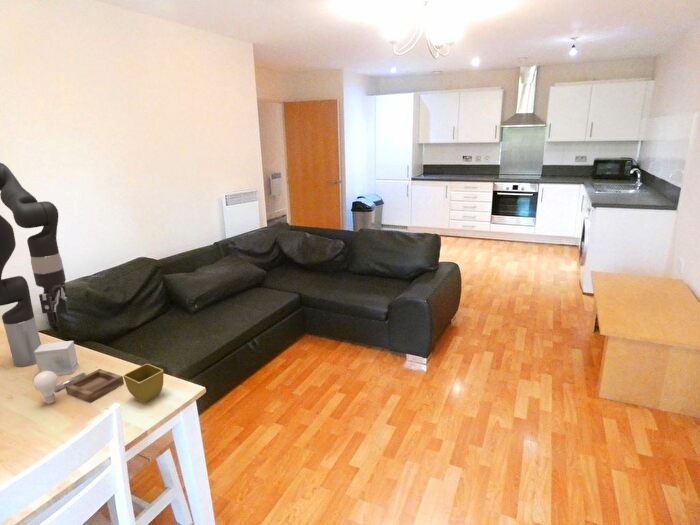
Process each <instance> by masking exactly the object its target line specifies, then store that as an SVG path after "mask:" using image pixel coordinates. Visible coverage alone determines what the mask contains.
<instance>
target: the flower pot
mask: <svg viewBox="0 0 700 525" xmlns="http://www.w3.org/2000/svg"><path fill="white" fill-rule="evenodd" d="M123 381H124V384H125V385H126V388H127V391H128V392H129V393H130V394H131V396H132V397H133V398H135V399H137V400H138V401H140V402H142V403H147V402H149V401H150V400H152V399H154V398H156V397H158V396H159V395H160V393H161V392H162V389H163V388H164V387H163V386H164V369H163V368H160V367H157V366H155V365H152V364H150V363H145V364H143V365H140V366H139V367H136V368H135V369H133V370H131V371H129V372H127V373H125V374H123Z"/></svg>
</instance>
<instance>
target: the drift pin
mask: <svg viewBox="0 0 700 525" xmlns="http://www.w3.org/2000/svg"><path fill="white" fill-rule="evenodd" d="M86 375H87V373H86V372H81V373H79V374H78V375H77V374H76V375H75V376H73V377H71V378H69V379H67V380H65V381H63V382H61V383H58V384H57V385H56V387H55V392H54V393H57V392H58V391H61V390H62V389H66V388H65V386H67V385H68V384H70V383H72V382H74V381H76V380H78V379H80V378H82V377H84V376H86Z"/></svg>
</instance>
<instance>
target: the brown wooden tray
mask: <svg viewBox="0 0 700 525" xmlns="http://www.w3.org/2000/svg"><path fill="white" fill-rule="evenodd" d="M123 385H125V380H124V377H123V376H122V375H121V374H116V373H113V372H110V371H108V370H104V369H101V368H98V369H96V370H95V371H93V372H91V373H88V374H86V376H84V377H82V378H80V379H78V380H76V381H74V382H72V383H70V384H68V385H67V386H65V388H64V389H65V391H66V392H65V393H66V395H68V396H70V397H73V398H75V399H78V400H81V401H83V402H86V403H89V404H91V403H93V402H94V401H97V400H99V399H100V398H102V397H104V396H105V395H107V394H109V393H111V392H112V391H115V390H116V389H118V388H119V386H120V387H121V386H123ZM117 387H118V388H117Z"/></svg>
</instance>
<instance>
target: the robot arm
mask: <svg viewBox="0 0 700 525" xmlns="http://www.w3.org/2000/svg"><path fill="white" fill-rule="evenodd" d="M0 200H1V201H2V203H3V205H5V207H7V208H8V209H9V210H10V211H11V213H12V216H13V220H14V222H15V224H16V225H17V226H18V227H20V228H23V229H32V228H34V229H35V228H40V227H42V229H41V231H40V232H38V233H36V234H32V235H30V236H29V237H28V238H27V239H26V241H27V248H28V251H29V256H30V265H31V269H32V273H33V278H34V282H35V286H37V287H38V288H40V287H41V288H42V289H43V293H39V295H38V297H39V302H40V307H41V313H42V314H47V320H48V324H50V325H57V324H58V323H59V317H58V313H60V314H64V313H67V312H68V306H67V298H68V296H69V294H68V289H67V287H66V286H67V285H66V281H67V280H66V275H65V270H64V265H63V260H62V257H61V255H60V251H59V247H58V241H57V240H58V239H57V236H58V235H57V234H58V224H59V210H58V208H57V206H56V205H55V204H54V203H52V202H51V201H46V200H45V201H38V199H37V198H36V197H35V196H34V195H33V194H32V193H30V192H29V191H28V190H26V189H25V188H24V187H23V186H22V184H21V183H20V182H19V180H18V179H17V177H16V176H15V175H14V173H13V172H12V171H11V170H10V168H9V167H8V166H7V165H6V164H4V163H2V162H0ZM16 244H17V243H16V238H15V232H14V228H13V226H12V225H11V223H10V222H9V221H8V220H7V219H6V218H4V216H2V215H1V214H0V307H1V306H6V305H10V304H11V305H12V304H15V303H16V304H15V306H13V307H12V308H11V309H9V310H7V311H6V312H4V313H3V314H2V316H1V320H2V324H3V327H4V331H5V335H6V337H7V342H8V345H9V346H8V347H9V349H10V354H11V357H12V361H13V364H14V366H15V367H18V368H19V367H21V368H22V367H27V366H32V365H35V364H37V361H36V358H35V354H34V351H35V350H36V349H37V348H38V347H39V346H40V345H41V344H42V341H41V339H40V338H41V337H40V335H39V330H38V325H37V322H36V318H35V317H36V316H35V314H34V308H33V304H32V299H31V293H30V288H29V284H28V282H27V279H26V278H25V277H24V276H22V275H16V276H12V277H11V276H10V277H7V278H3V279H2V276H3V270H4V268H5V266H6V264H7V263H8V261H9V260H10V258H11V257H12V254H13V253H14V251H15V249H16ZM57 309H58V312H57Z"/></svg>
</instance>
